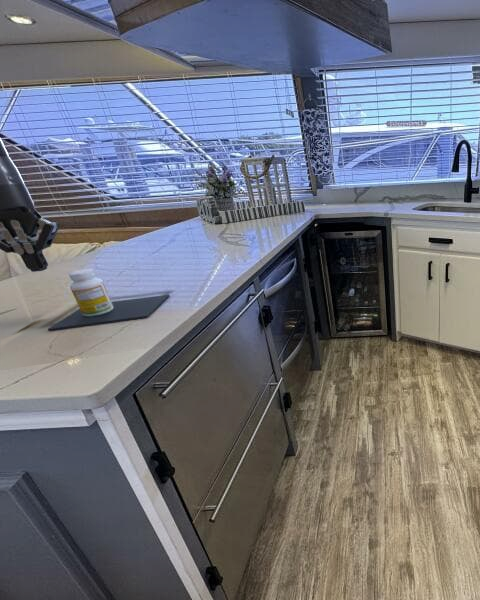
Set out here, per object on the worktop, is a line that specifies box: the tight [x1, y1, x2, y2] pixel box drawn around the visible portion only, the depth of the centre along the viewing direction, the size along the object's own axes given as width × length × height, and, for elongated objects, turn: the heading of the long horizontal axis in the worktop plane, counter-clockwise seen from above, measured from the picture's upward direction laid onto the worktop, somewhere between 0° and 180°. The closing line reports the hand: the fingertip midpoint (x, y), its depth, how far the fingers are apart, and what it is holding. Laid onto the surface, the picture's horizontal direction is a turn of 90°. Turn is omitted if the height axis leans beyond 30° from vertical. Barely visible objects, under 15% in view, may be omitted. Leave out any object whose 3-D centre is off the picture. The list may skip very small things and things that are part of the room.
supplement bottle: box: [68, 268, 114, 317], centre depth 71 cm, size 5×5×10 cm
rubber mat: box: [47, 294, 170, 332], centre depth 74 cm, size 18×13×1 cm
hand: (39, 270), depth 67 cm, fingers closed
